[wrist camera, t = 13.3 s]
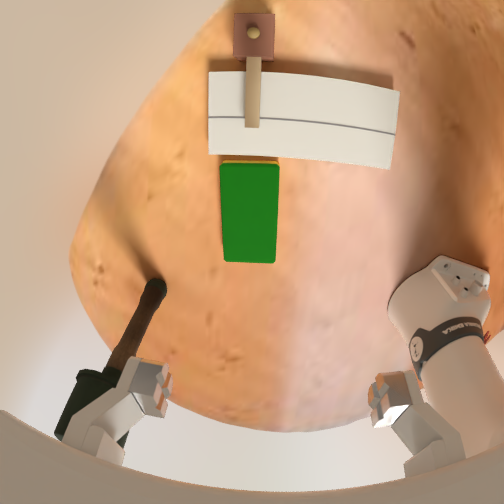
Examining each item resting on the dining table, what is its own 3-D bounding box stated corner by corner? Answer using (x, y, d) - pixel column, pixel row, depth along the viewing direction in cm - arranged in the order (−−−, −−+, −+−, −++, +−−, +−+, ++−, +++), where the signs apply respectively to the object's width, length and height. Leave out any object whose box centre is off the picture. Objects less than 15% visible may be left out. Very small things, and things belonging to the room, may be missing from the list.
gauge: (274, 24, 25) (274, 11, 20) (270, 124, 32) (270, 130, 27) (240, 23, 25) (233, 11, 20) (237, 123, 32) (230, 129, 27)
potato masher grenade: (127, 266, 45) (36, 423, 19) (173, 261, 43) (90, 445, 18) (146, 305, 49) (80, 456, 23) (189, 303, 48) (135, 474, 22)
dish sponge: (279, 160, 35) (279, 164, 33) (275, 254, 42) (275, 264, 40) (222, 159, 35) (219, 163, 33) (226, 252, 42) (223, 261, 40)
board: (393, 91, 28) (400, 91, 26) (384, 165, 33) (389, 169, 31) (212, 73, 29) (208, 72, 27) (212, 150, 34) (208, 154, 32)
